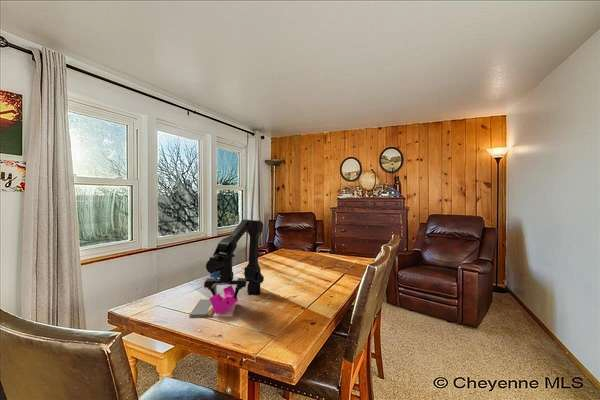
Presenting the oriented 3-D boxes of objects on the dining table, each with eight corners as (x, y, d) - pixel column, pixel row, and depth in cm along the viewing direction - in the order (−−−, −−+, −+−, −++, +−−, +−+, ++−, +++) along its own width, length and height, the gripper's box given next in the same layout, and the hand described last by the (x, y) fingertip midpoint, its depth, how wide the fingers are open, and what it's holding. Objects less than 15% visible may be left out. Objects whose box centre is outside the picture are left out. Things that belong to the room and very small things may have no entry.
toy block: (227, 309, 123) (220, 293, 124) (216, 314, 124) (209, 298, 125) (242, 297, 138) (235, 282, 138) (231, 301, 139) (225, 287, 140)
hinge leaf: (219, 301, 141) (219, 296, 141) (211, 316, 123) (211, 311, 123) (200, 301, 140) (200, 297, 140) (189, 317, 122) (189, 311, 122)
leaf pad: (237, 301, 141) (237, 300, 141) (231, 316, 124) (231, 315, 124) (219, 301, 141) (219, 301, 141) (212, 316, 123) (212, 315, 123)
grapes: (212, 283, 170) (213, 263, 170) (205, 280, 174) (206, 261, 174) (228, 278, 180) (228, 259, 180) (221, 276, 184) (221, 258, 184)
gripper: (247, 263, 141) (247, 294, 141) (209, 263, 139) (209, 295, 140) (245, 269, 130) (245, 303, 130) (203, 269, 128) (203, 303, 129)
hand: (225, 300), depth 132 cm, fingers closed on toy block, 8 cm apart
